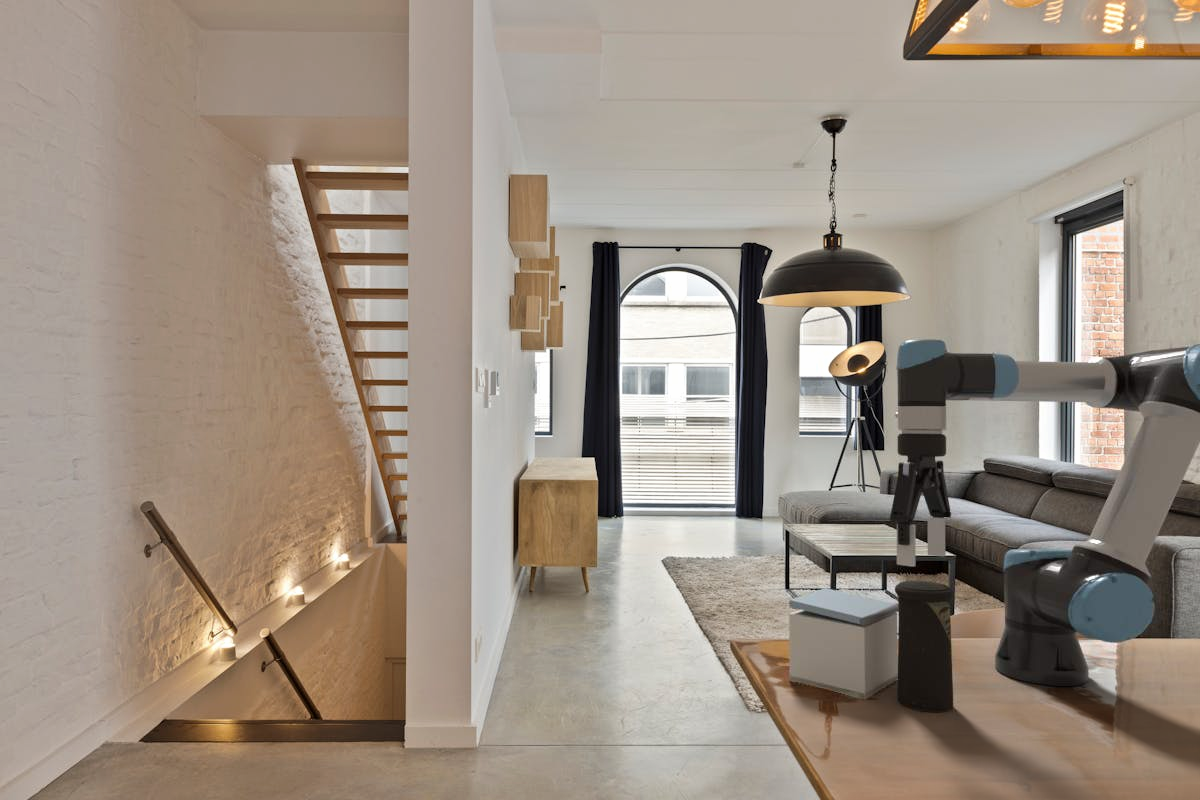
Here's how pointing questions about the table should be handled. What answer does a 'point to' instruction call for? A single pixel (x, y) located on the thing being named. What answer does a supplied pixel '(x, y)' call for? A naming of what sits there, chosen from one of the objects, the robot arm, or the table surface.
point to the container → (924, 646)
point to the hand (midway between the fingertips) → (921, 560)
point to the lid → (844, 606)
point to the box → (842, 653)
